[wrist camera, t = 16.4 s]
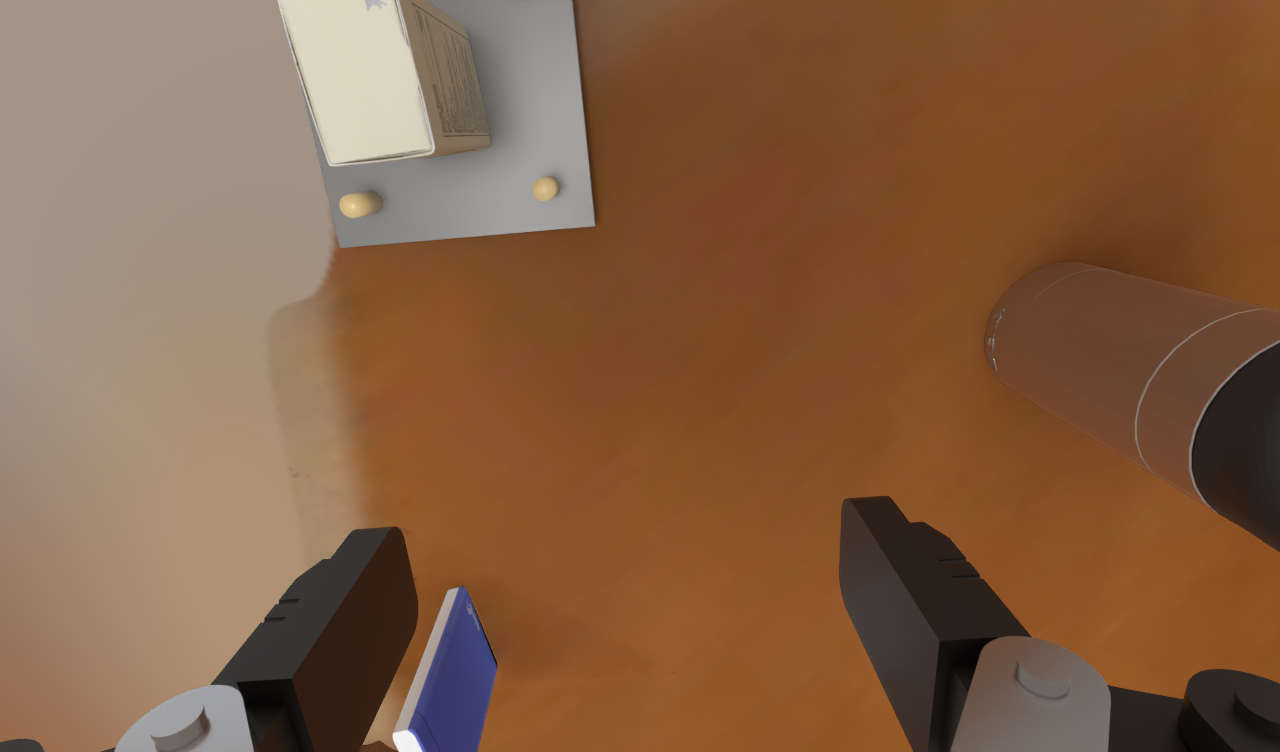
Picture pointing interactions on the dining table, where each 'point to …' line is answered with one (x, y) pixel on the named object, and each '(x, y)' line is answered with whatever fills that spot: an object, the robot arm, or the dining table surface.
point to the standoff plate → (519, 133)
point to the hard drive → (449, 683)
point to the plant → (376, 748)
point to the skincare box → (386, 79)
